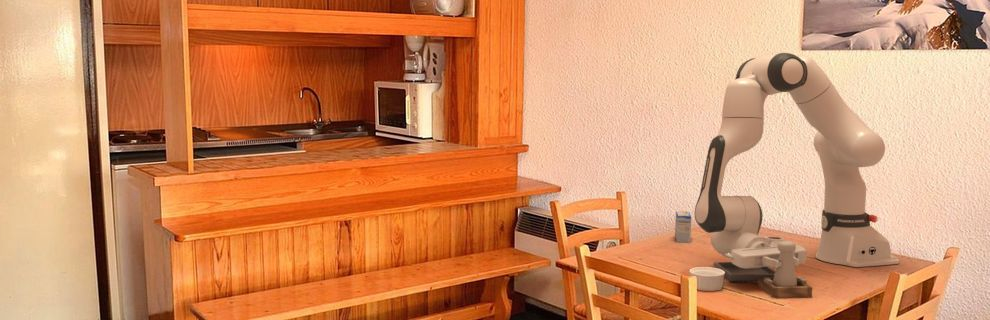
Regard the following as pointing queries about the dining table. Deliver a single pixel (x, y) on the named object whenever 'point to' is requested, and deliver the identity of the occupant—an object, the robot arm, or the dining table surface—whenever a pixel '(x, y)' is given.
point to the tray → (743, 272)
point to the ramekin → (708, 278)
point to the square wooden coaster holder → (785, 288)
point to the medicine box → (683, 226)
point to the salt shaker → (786, 266)
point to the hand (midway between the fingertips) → (788, 263)
